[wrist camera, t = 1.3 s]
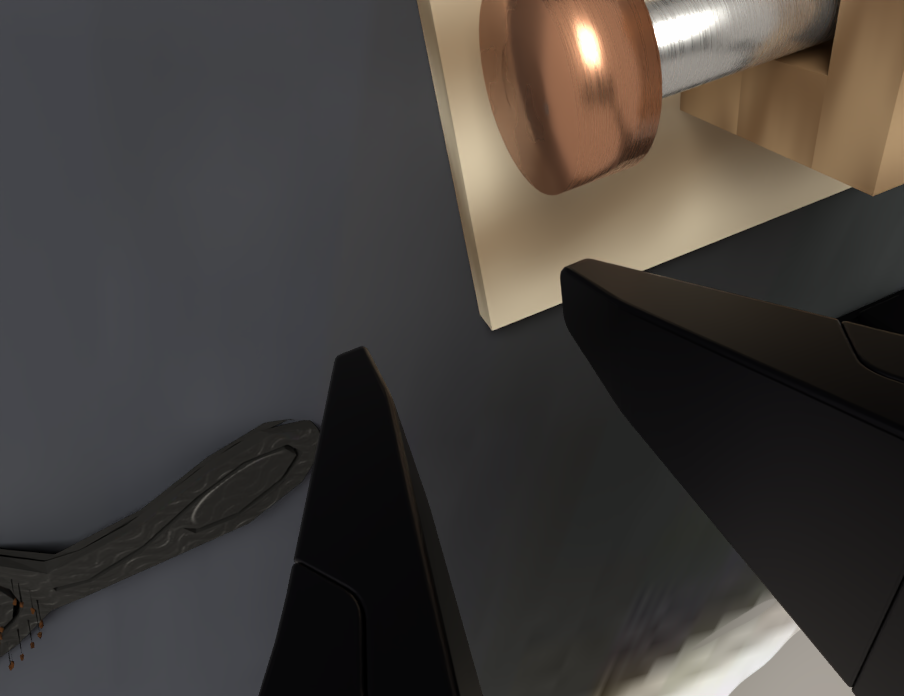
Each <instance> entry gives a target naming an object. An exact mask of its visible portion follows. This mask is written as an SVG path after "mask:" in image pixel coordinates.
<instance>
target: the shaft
mask: <svg viewBox="0 0 904 696" xmlns="http://www.w3.org/2000/svg"><path fill="white" fill-rule="evenodd" d="M840 1H841V0H482V2H481V7H480V16H479V45H480V56H481V64H482V70H483V76H484V81H485V86H486V90H487V94H488V98H489V102H490V106H491V109H492V112H493V115H494V118H495V121H496V124H497V127H498V129H499V132H500V134H501V137H502V139H503V141H504V144H505V146H506V148H507V150H508V152H509V154H510V156H511V157H512V159H513V161H514V163H515V164H516V166H517V168H518V169H519V170H520V172H521V173H522V175H523V176H524V177H525V178H526V180H527V181H528V182H529V183H530V184H531V185H532V186H533V187H534V188H536V189H537V190H539V191H540V192H542V193H544V194H546V195H558V194H561V193H563V192H566V191H569V190H572V189H574V188H577V187H580V186H582V185H585V184H588V183H591V182H593V181H596V180H599V179H601V178H604V177H607V176H610V175H612V174H615V173H618V172H620V171H623V170H626V169H629V168H631V167H633V166H635V165H637V164H638V163H639V162H640V161H642V160H643V158H644V157H645V156H646V155H647V153H648V152H649V150H650V148H651V146H652V144H653V141H654V139H655V136H656V133H657V129H658V125H659V121H660V114H661V107H662V99H663V98H666V97H669V96H672V95H674V94H677V93H680V92H683V91H686V90H689V89H691V88H694V87H697V86H700V85H703V84H706V83H709V82H711V81H714V80H717V79H720V78H723V77H726V76H728V75H731V74H734V73H737V72H740V71H743V70H746V69H748V68H751V67H754V66H757V65H760V64H763V63H766V62H768V61H771V60H774V59H777V58H780V57H783V56H785V55H788V54H791V53H794V52H797V51H800V50H803V49H805V48H808V47H811V46H814V45H817V44H820V43H822V42H825V41H828V40H831V39H834V36H835V30H836V24H837V19H838V13H839V7H840Z"/></svg>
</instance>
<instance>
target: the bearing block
mask: <svg viewBox="0 0 904 696" xmlns="http://www.w3.org/2000/svg"><path fill="white" fill-rule="evenodd" d="M481 2H482V0H417V4H418V9H419V14H420V19H421V24H422V29H423V34H424V39H425V44H426V49H427V54H428V58H429V63H430V68H431V73H432V78H433V83H434V88H435V93H436V98H437V103H438V108H439V113H440V118H441V123H442V128H443V133H444V138H445V143H446V148H447V153H448V158H449V163H450V168H451V173H452V178H453V183H454V188H455V193H456V198H457V203H458V208H459V213H460V218H461V223H462V228H463V233H464V238H465V243H466V248H467V253H468V258H469V263H470V268H471V273H472V278H473V283H474V288H475V293H476V297H477V302H478V307H479V312H480V315H481V317H482V318H483V319H484V321H485V322H486V323H487V324H488V326H489V327H490V328H491V330H492V331H493V330H496V329H498V328H501V327H503V326H506V325H508V324H511V323H513V322H516V321H518V320H521V319H523V318H526V317H528V316H531V315H533V314H536V313H538V312H541V311H543V310H546V309H548V308H551V307H553V306H556V305H558V304H561V303H562V295H561V285H560V273H561V270H562V269H563V268H564V267H565V266H568V265H570V264H573V263H575V262H578V261H580V260H583V259H586V258H591V259H595V260H600V261H604V262H608V263H612V264H616V265H620V266H624V267H628V268H632V269H636V270H640V271H643V270H646V269H648V268H651V267H653V266H656V265H658V264H661V263H663V262H666V261H668V260H671V259H673V258H676V257H678V256H681V255H683V254H686V253H688V252H691V251H693V250H696V249H698V248H701V247H703V246H706V245H708V244H711V243H713V242H716V241H718V240H721V239H723V238H726V237H728V236H731V235H733V234H736V233H738V232H741V231H743V230H746V229H748V228H751V227H753V226H756V225H758V224H761V223H763V222H766V221H768V220H771V219H773V218H776V217H778V216H781V215H783V214H786V213H788V212H791V211H793V210H796V209H798V208H801V207H803V206H806V205H809V204H811V203H814V202H816V201H819V200H821V199H824V198H826V197H829V196H831V195H834V194H836V193H839V192H841V191H844V190H846V189H849V188H851V187H853V188H856V189H858V190H860V191H862V192H865V193H867V194H869V195H871V196H875V195H877V194H880V193H882V192H884V191H887V190H889V189H892V188H894V187H897V186H899V185H902V184H904V0H841V1H840V7H839V13H838V19H837V24H836V30H835V36H834V39H831V40H828V41H825V42H822V43H820V44H817V45H814V46H811V47H808V48H805V49H803V50H800V51H797V52H794V53H791V54H788V55H785V56H783V57H780V58H777V59H774V60H771V61H768V62H766V63H763V64H760V65H757V66H754V67H751V68H748V69H746V70H743V71H740V72H737V73H734V74H731V75H728V76H726V77H723V78H720V79H717V80H714V81H711V82H709V83H706V84H703V85H700V86H697V87H694V88H691V89H689V90H686V91H683V92H680V93H677V94H674V95H672V96H669V97H666V98H663V99H662V107H661V114H660V121H659V125H658V129H657V133H656V136H655V139H654V141H653V144H652V146H651V148H650V150H649V152H648V153H647V155H646V156H645V157H644V158H643V160H642V161H640V162H639V163H638V164H637V165H635V166H633V167H631V168H629V169H626V170H623V171H620V172H618V173H615V174H612V175H610V176H607V177H604V178H601V179H599V180H596V181H593V182H591V183H588V184H585V185H582V186H580V187H577V188H574V189H572V190H569V191H566V192H563V193H561V194H558V195H546V194H544V193H542V192H540V191H539V190H537V189H536V188H534V187H533V186H532V185H531V184H530V183H529V182H528V181H527V180H526V178H525V177H524V176H523V175H522V173H521V172H520V170H519V169H518V168H517V166H516V164H515V163H514V161H513V159H512V157H511V156H510V154H509V152H508V150H507V148H506V146H505V144H504V141H503V139H502V137H501V134H500V132H499V129H498V127H497V124H496V121H495V118H494V115H493V112H492V109H491V106H490V102H489V98H488V94H487V90H486V86H485V81H484V76H483V70H482V64H481V56H480V45H479V16H480V7H481Z"/></svg>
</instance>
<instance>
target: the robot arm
mask: <svg viewBox="0 0 904 696" xmlns="http://www.w3.org/2000/svg"><path fill="white" fill-rule="evenodd" d="M560 285H561V295H562V305H563V315H564V320H565V323H566V326H567V328H568V330H569V332H570V333H571V335H572V336H573V338H574V340H575V341H576V343H577V344H578V346H579V347H580V349H581V350H582V352H583V354H584V355H585V357H586V358H587V360H588V361H589V363H590V364H591V366H592V368H593V369H594V371H595V372H596V374H597V375H598V377H599V378H600V380H601V382H602V383H603V385H604V386H605V388H606V389H607V391H608V392H609V394H610V396H611V397H612V399H613V400H614V402H615V403H616V405H617V406H618V408H619V409H620V410H621V412H622V413H623V414H624V416H625V417H626V418H627V420H628V421H629V422H630V423H631V425H632V426H633V427H634V428H635V429H636V431H637V432H638V433H639V434H640V435H641V437H642V438H643V439H644V440H645V442H646V443H647V444H648V445H649V446H650V448H651V449H652V450H653V451H654V452H655V454H656V455H657V456H658V457H659V458H660V460H661V461H662V462H663V463H664V464H665V466H666V467H667V468H668V469H669V470H670V472H671V473H672V474H673V475H674V477H675V478H676V479H677V480H678V481H679V483H680V484H681V485H682V486H683V487H684V489H685V490H686V491H687V492H688V493H689V495H690V496H691V497H692V498H693V499H694V501H695V502H696V503H697V504H698V505H699V507H700V508H701V509H702V510H703V512H704V513H705V514H706V515H707V516H708V518H709V519H710V520H711V521H712V522H713V524H714V525H715V526H716V527H717V528H718V530H719V531H720V532H721V533H722V534H723V536H724V537H725V538H726V539H727V540H728V542H729V543H730V544H731V545H732V547H733V548H734V549H735V550H736V551H737V553H738V554H739V555H740V556H741V557H742V559H743V560H744V561H745V562H746V563H747V565H748V566H749V567H750V568H751V569H752V571H753V572H754V573H755V574H756V576H757V577H758V578H759V579H760V580H761V582H762V583H763V584H764V585H765V586H766V588H767V589H768V590H769V591H770V592H771V594H772V595H773V596H774V597H775V598H776V600H777V601H778V602H779V603H780V604H781V606H782V607H783V608H784V609H785V611H786V612H787V613H788V614H789V615H790V617H791V618H792V619H793V620H794V621H795V623H796V624H797V625H798V626H799V627H800V629H801V630H802V631H803V632H804V633H805V634H806V636H807V637H808V638H809V639H810V641H811V642H812V643H813V644H814V645H815V647H816V648H817V649H818V650H819V652H820V653H821V654H822V655H823V656H824V658H825V659H826V660H827V661H828V662H829V664H830V665H831V666H832V667H833V668H834V670H835V671H836V672H837V673H838V674H839V676H840V677H841V678H842V679H843V681H844V682H845V683H846V684H847V685H848V686H849V687H852V692H853V693H854V694H855V696H904V290H902V291H899V292H897V293H895V294H892V295H890V296H888V297H886V298H883V299H881V300H879V301H876V302H874V303H872V304H870V305H867V306H865V307H863V308H861V309H858V310H856V311H854V312H851V313H849V314H847V315H845V316H842V317H840V318H838V319H834V318H830V317H826V316H822V315H818V314H814V313H810V312H806V311H802V310H798V309H794V308H790V307H786V306H782V305H778V304H774V303H770V302H766V301H761V300H757V299H753V298H749V297H745V296H741V295H737V294H733V293H729V292H725V291H721V290H717V289H713V288H709V287H705V286H701V285H697V284H693V283H689V282H685V281H680V280H676V279H672V278H668V277H664V276H660V275H656V274H652V273H648V272H644V271H640V270H636V269H632V268H628V267H624V266H620V265H616V264H612V263H608V262H604V261H600V260H595V259H591V258H586V259H583V260H580V261H578V262H575V263H573V264H570V265H568V266H565V267H564V268H563V269H562V270H561V273H560ZM294 562H295V563H296V564H294V565H293V566H292V570H291V574H290V579H289V584H288V589H287V594H286V599H285V603H284V607H283V611H282V615H281V619H280V623H279V628H278V632H277V636H276V640H275V644H274V647H273V650H272V653H271V657H270V660H269V663H268V666H267V670H266V673H265V676H264V679H263V683H262V686H261V689H260V692H259V695H258V696H483V694H482V691H481V687H480V684H479V680H478V677H477V673H476V669H475V666H474V662H473V659H472V655H471V652H470V648H469V645H468V641H467V637H466V634H465V630H464V627H463V623H462V620H461V616H460V613H459V609H458V605H457V602H456V598H455V595H454V591H453V588H452V584H451V581H450V577H449V573H448V570H447V566H446V563H445V559H444V556H443V552H442V548H441V545H440V541H439V538H438V534H437V531H436V527H435V524H434V520H433V516H432V513H431V510H430V507H429V503H428V500H427V497H426V494H425V491H424V488H423V485H422V482H421V480H420V477H419V474H418V471H417V468H416V465H415V462H414V459H413V456H412V453H411V451H410V448H409V445H408V442H407V439H406V436H405V433H404V430H403V427H402V424H401V421H400V419H399V416H398V413H397V410H396V407H395V404H394V401H393V399H392V396H391V394H390V392H389V390H388V388H387V386H386V384H385V382H384V380H383V378H382V376H381V374H380V372H379V370H378V368H377V366H376V364H375V363H374V361H373V359H372V357H371V355H370V353H369V351H368V349H367V348H366V347H363V346H361V347H358V348H355V349H353V350H350V351H348V352H345V353H342V354H340V355H338V356H337V357H336V358H335V362H334V366H333V371H332V376H331V381H330V386H329V391H328V396H327V401H326V405H325V410H324V415H323V420H322V425H321V430H320V435H319V440H318V444H317V449H316V454H315V459H314V464H313V469H312V474H311V479H310V483H309V488H308V493H307V498H306V503H305V508H304V513H303V518H302V522H301V527H300V532H299V537H298V542H297V547H296V552H295V557H294Z"/></svg>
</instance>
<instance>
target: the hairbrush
mask: <svg viewBox="0 0 904 696" xmlns="http://www.w3.org/2000/svg"><path fill="white" fill-rule="evenodd" d="M288 420H292V419H288ZM284 421H286V420H281V421H273V422H267V423H263V424H262V425H260V426H258V427H257V428H255V429H253V430H252V431H250V432H249V433H247V434H245V435H244V436H242V437H240V438H239V439H237V440H235V441H234V442H232V443H230V444H229V445H227V446H225V447H224V448H222V449H220V450H219V451H217V452H216V453H214V454H212V455H211V456H209V457H207V458H206V459H205V460H203V461H202V462H201V463H200V464H198V465H197V466H196V467H194V468H193V469H192V470H191V471H189V472H188V473H187V474H186V475H184V476H183V477H182V478H181V479H179V480H178V481H177V482H176V483H174V484H173V485H172V486H170V487H169V488H168V489H167V490H165V491H164V492H163V493H162V494H160V495H159V496H158V497H157V498H155V499H154V500H153V501H152V502H150V503H149V504H148V505H147V506H145V507H144V508H143V509H141V510H140V511H138V512H136V513H134V514H132V515H130V516H128V517H126V518H124V519H122V520H121V521H119V522H117V523H115V524H113V525H111V526H109V527H107V528H105V529H103V530H101V531H99V532H97V533H95V534H94V535H92V536H90V537H88V538H86V539H84V540H82V541H80V542H78V543H76V544H74V545H72V546H70V547H68V548H66V549H65V550H63V551H61V552H59V553H57V554H45V553H35V552H25V551H15V550H5V549H0V657H1V656H2V655H4V654H5V653H7V652H8V653H9V650H11V649H12V648H13V647H15V646H16V645H18V644H19V643H20V642H21V641H22V640H23V639H24V638H25V637H26V636H27V635H28V634H29V633H30V635H31V631H32V630H33V629H34V628H35V627H36V626H37V625H38V623H39V622H40V623H39V625H38V627H40V628H42V627H43V626H44V625H43V621H42V619H43V618H44V617H45V616H46V615H47V614H48V613H49V612H50V611H51V610H54V609H56V608H58V607H61V606H63V605H66V604H68V603H71V602H73V601H76V600H78V599H80V598H83V597H85V596H87V595H90V594H92V593H94V592H96V591H99V590H101V589H103V588H105V587H108V586H110V585H112V584H114V583H117V582H119V581H121V580H123V579H126V578H128V577H130V576H132V575H135V574H137V573H139V572H141V571H143V570H146V569H148V568H150V567H152V566H155V565H157V564H159V563H161V562H164V561H166V560H168V559H170V558H173V557H175V556H177V555H179V554H182V553H184V552H186V551H188V550H190V549H193V548H195V547H197V546H199V545H202V544H204V543H206V542H208V541H210V540H213V539H215V538H217V537H219V536H222V535H224V534H226V533H228V532H231V531H233V530H235V529H237V528H239V527H242V526H244V525H246V524H248V523H250V522H251V521H252V520H254V519H255V518H256V517H257V516H259V515H260V514H261V513H263V512H264V511H265V510H266V509H268V508H269V507H270V506H271V505H273V504H274V503H275V502H277V501H278V500H279V499H280V498H282V497H283V496H284V495H285V494H287V493H288V492H289V491H291V490H292V489H293V488H294V487H296V486H297V485H298V484H299V483H301V482H302V481H303V479H304V478H305V476H306V474H307V473H308V471H309V470H310V468H311V466H312V465H313V463H314V459H315V454H316V449H317V444H318V440H319V435H320V432H319V430H318V429H317V428H316V426H315V425H314V424H313V423H312V422H311V421H309V420H304V421H298V422H294V423H289V424H285V425H281V426H277V427H273V426H275V425H277V424H280V423H282V422H284ZM271 427H273V428H271ZM293 447H294V449H293ZM16 598H17V599H18V600H19V604H18V606H17V607H16V609H15V611H14V612H13V608H14V605H17V600H16ZM17 609H18V610H17ZM16 610H17V613H16V616H15V617H14V618H13V615H14V614H15V612H16ZM37 635H38V637H39V638H41V636H42V632H39V633H38V634H37ZM31 640H32V638H31ZM30 645H31V648H34V642H32V643H31V644H30ZM20 648H21V643H20ZM21 653H22V651H21ZM11 656H12V655H11ZM20 658H21V660H23V659H24V655H23V654H22V655H20ZM9 660H10V656H9ZM13 668H14V661H11V662H10V665H9V669H10V670H12V669H13Z"/></svg>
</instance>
